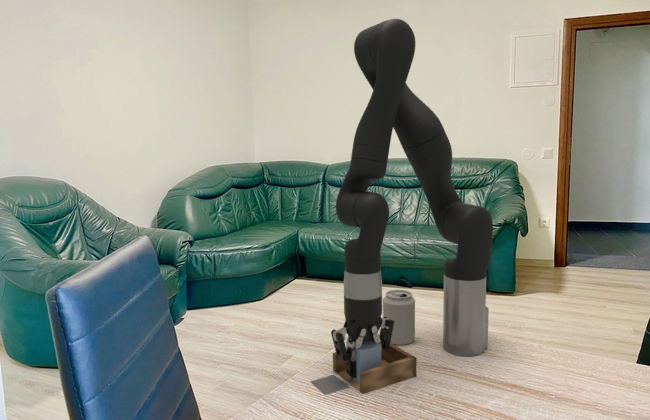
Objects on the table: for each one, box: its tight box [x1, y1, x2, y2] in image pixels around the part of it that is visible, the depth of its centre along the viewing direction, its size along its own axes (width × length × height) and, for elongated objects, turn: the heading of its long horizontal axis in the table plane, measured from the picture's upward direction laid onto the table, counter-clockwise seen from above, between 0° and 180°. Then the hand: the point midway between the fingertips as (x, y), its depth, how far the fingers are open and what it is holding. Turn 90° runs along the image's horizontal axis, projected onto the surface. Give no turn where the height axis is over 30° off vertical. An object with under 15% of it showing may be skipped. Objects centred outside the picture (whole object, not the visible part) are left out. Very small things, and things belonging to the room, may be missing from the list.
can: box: [382, 289, 416, 346], centre depth 119 cm, size 8×8×12 cm
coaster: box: [310, 374, 350, 396], centre depth 99 cm, size 6×6×1 cm
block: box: [347, 341, 381, 384], centre depth 101 cm, size 5×5×7 cm
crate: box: [332, 340, 417, 395], centre depth 102 cm, size 13×11×4 cm
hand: (363, 372), depth 101 cm, fingers closed on block, 5 cm apart
